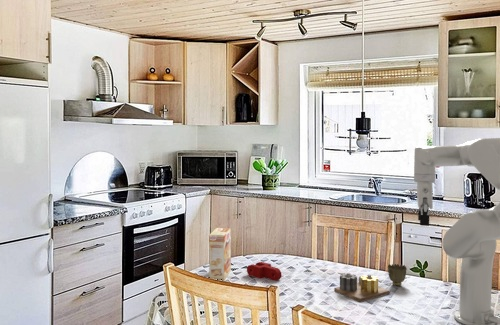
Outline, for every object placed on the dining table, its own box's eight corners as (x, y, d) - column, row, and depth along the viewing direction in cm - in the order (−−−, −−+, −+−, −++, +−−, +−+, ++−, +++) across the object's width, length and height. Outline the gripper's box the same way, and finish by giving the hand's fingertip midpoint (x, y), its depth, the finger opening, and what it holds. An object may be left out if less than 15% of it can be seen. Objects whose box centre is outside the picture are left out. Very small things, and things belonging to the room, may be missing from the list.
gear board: (389, 293, 185) (389, 275, 184) (359, 301, 176) (360, 282, 176) (363, 283, 197) (363, 266, 196) (334, 290, 188) (334, 273, 188)
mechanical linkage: (246, 275, 210) (246, 264, 209) (257, 271, 215) (257, 260, 214) (274, 283, 199) (274, 271, 198) (285, 279, 204) (285, 267, 203)
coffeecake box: (224, 280, 202) (224, 235, 200) (208, 279, 203) (208, 234, 202) (231, 270, 217) (231, 227, 215) (216, 269, 218) (216, 227, 216)
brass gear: (378, 288, 187) (378, 276, 187) (377, 294, 181) (378, 281, 181) (361, 286, 189) (361, 274, 189) (360, 292, 183) (360, 279, 183)
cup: (407, 288, 190) (407, 269, 189) (388, 287, 192) (388, 268, 191) (405, 282, 197) (405, 264, 197) (386, 281, 199) (387, 263, 198)
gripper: (437, 181, 170) (436, 228, 171) (432, 176, 187) (431, 219, 188) (415, 180, 172) (414, 227, 174) (412, 175, 189) (411, 218, 190)
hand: (423, 222), depth 181 cm, fingers open, 9 cm apart
